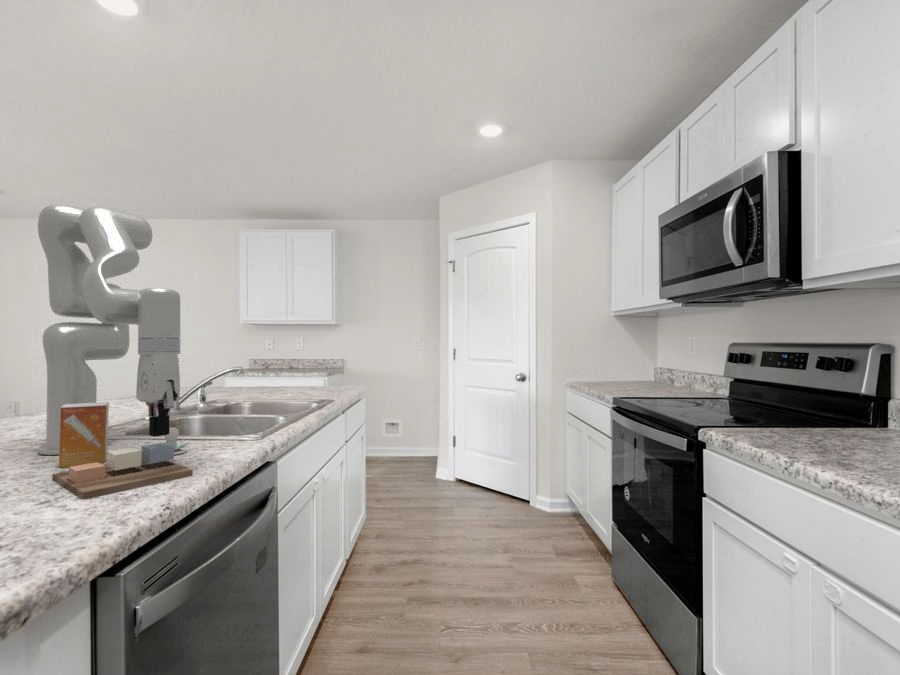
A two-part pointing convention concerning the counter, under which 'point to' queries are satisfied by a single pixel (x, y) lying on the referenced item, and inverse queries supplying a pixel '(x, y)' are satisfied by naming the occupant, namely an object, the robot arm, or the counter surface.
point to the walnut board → (124, 478)
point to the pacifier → (175, 441)
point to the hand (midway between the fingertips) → (159, 435)
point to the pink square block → (86, 473)
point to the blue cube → (157, 452)
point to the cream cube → (123, 458)
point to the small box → (83, 433)
